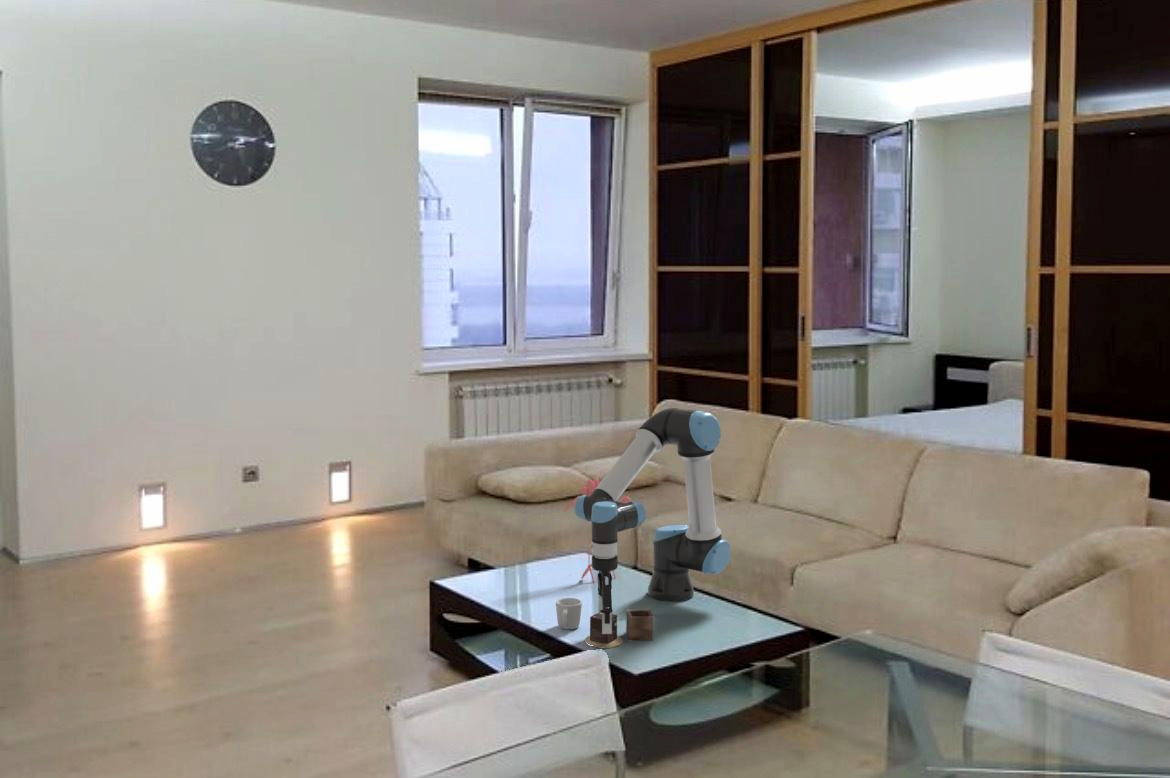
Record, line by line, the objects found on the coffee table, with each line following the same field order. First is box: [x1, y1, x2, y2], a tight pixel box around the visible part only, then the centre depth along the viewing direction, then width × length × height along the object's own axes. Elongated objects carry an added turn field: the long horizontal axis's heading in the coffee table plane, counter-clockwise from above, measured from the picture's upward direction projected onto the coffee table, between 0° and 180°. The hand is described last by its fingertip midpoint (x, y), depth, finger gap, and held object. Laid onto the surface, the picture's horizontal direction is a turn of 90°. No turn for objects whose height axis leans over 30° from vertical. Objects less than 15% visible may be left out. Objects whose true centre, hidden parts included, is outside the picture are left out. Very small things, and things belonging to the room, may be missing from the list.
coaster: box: [584, 635, 623, 649], centre depth 341 cm, size 11×11×1 cm
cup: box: [555, 597, 583, 630], centre depth 351 cm, size 11×8×8 cm
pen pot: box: [625, 609, 654, 642], centre depth 345 cm, size 7×7×7 cm
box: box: [589, 612, 618, 644], centre depth 340 cm, size 6×6×7 cm
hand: (604, 625), depth 340 cm, fingers open, 13 cm apart
